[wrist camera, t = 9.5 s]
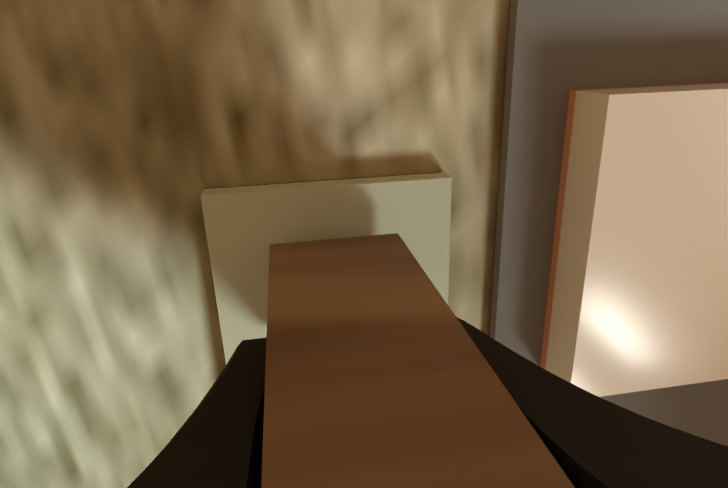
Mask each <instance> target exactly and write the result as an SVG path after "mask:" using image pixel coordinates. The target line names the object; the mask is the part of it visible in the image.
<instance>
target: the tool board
mask: <svg viewBox="0 0 728 488" xmlns="http://www.w3.org/2000/svg"><path fill="white" fill-rule="evenodd" d="M451 190H452V177H450V176H449V175H448V174H446V173H445V172H442V173H427V174H413V175H399V176H385V177H370V178H356V179H342V180H328V181H313V182H299V183H285V184H271V185H256V186H242V187H228V188H214V189H204V190H203V191H202V193H201V195H200V197H201V204H202V210H203V217H204V223H205V230H206V237H207V243H208V250H209V256H210V263H211V269H212V276H213V282H214V289H215V295H216V302H217V309H218V315H219V322H220V328H221V335H222V341H223V348H224V354H225V361H226V364H227V363H228V361H229V360H230V358H231V356H232V355H233V353H234V351H235V349H236V348H237V346H238V345H239V344H240V343H241V342H242V341H243V340H249V339H258V338H266V337H267V308H268V279H269V250H270V244H280V243H292V242H303V241H315V240H326V239H338V238H349V237H361V236H372V235H384V234H395V233H398V234H399V236H400V237H401V238H402V240H403V241H404V243H405V244H406V246H407V247H408V249H409V250H410V251H411V253H412V254H413V256H414V257H415V259H416V260H417V261H418V263H419V264H420V266H421V267H422V269H423V270H424V272H425V273H426V274H427V276H428V277H429V279H430V280H431V282H432V283H433V284H434V286H435V287H436V289H437V290H438V292H439V293H440V295H441V296H442V297H443V299H444V300H445V302H446V303H447V305H448V292H449V258H450V224H451Z"/></svg>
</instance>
